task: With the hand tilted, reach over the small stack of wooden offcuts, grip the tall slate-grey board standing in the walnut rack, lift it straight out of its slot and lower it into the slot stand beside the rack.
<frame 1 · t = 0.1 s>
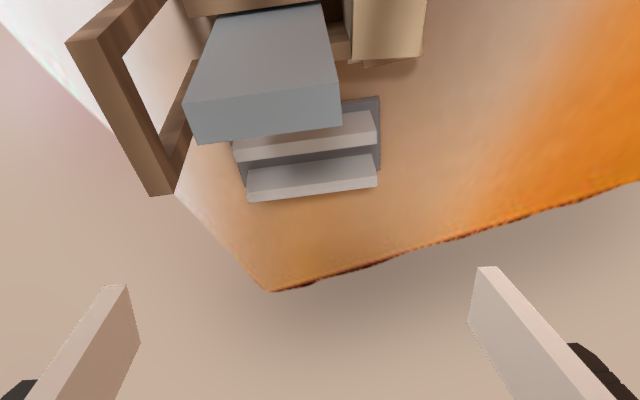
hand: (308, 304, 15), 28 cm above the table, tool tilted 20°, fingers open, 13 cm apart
slate board: (273, 10, 34), resting in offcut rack
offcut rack: (273, 10, 33), on the table
slot stand: (306, 142, 43), on the table
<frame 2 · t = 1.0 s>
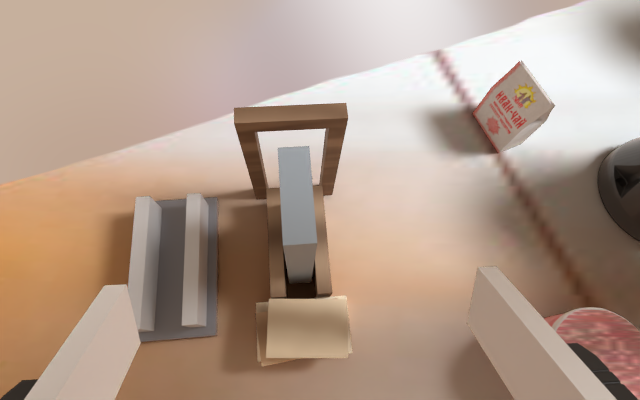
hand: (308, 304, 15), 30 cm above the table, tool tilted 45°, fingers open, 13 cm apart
slate board: (298, 249, 46), resting in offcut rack
container: (552, 362, 43), on the table
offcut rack: (298, 249, 46), on the table
tea bag: (495, 129, 54), on the table
slot stand: (178, 266, 45), on the table
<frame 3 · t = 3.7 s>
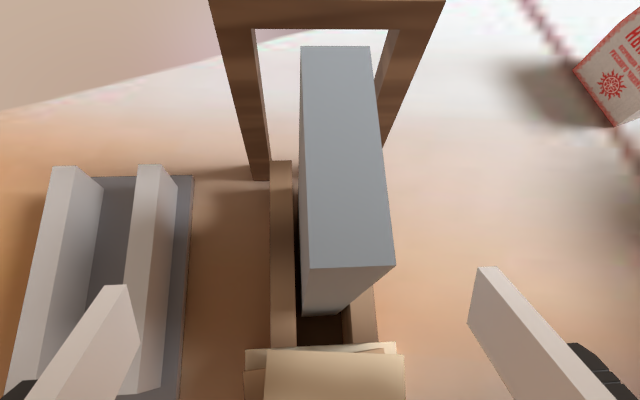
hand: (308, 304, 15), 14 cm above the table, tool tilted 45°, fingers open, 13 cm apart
slate board: (316, 261, 29), resting in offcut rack
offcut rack: (316, 261, 29), on the table
tea bag: (606, 94, 37), on the table
slot stand: (123, 281, 28), on the table
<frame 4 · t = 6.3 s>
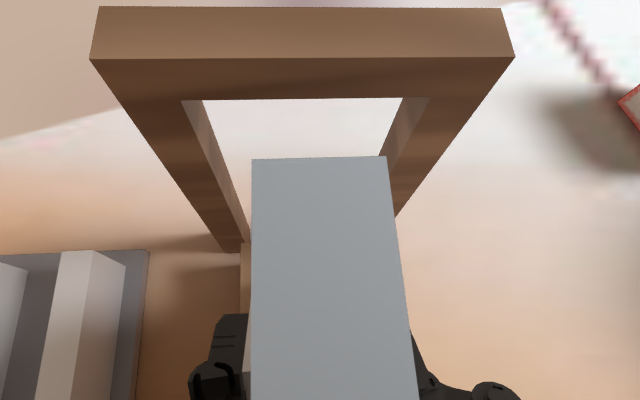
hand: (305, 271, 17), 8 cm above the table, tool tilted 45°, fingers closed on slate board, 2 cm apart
slate board: (305, 363, 22), resting in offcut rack, touching gripper
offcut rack: (305, 363, 22), on the table
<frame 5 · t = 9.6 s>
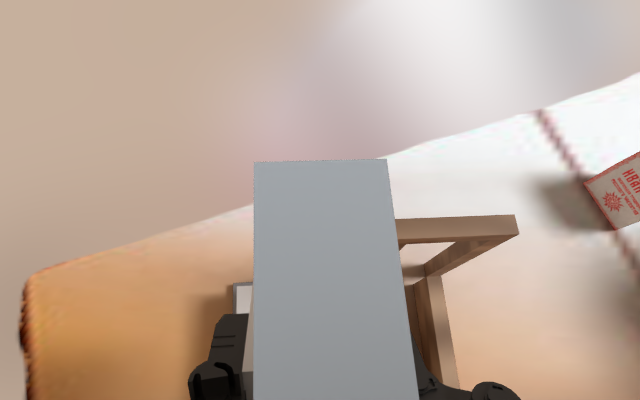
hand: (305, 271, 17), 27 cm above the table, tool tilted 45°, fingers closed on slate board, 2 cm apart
slate board: (305, 363, 23), point 19 cm above the table, touching gripper
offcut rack: (406, 341, 42), on the table
tea bag: (608, 202, 49), on the table
slot stand: (276, 359, 40), on the table
when the fingers open (10 cm above the table, at t = 12.8 s): slate board drops 1 cm, resting on slot stand.
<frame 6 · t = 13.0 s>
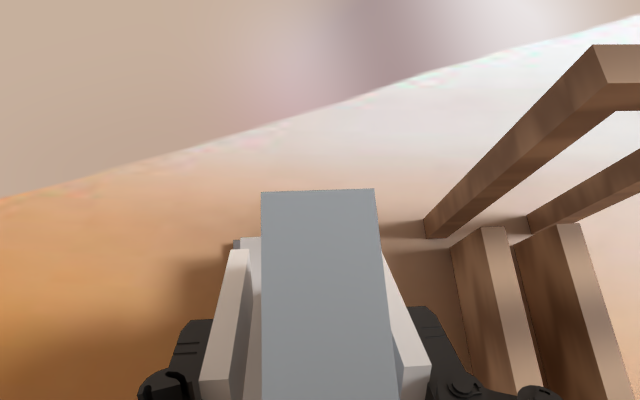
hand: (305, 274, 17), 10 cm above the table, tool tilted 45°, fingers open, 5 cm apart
slate board: (305, 363, 24), point 1 cm above the table, touching slot stand
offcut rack: (511, 332, 26), on the table
slot stand: (304, 362, 25), on the table
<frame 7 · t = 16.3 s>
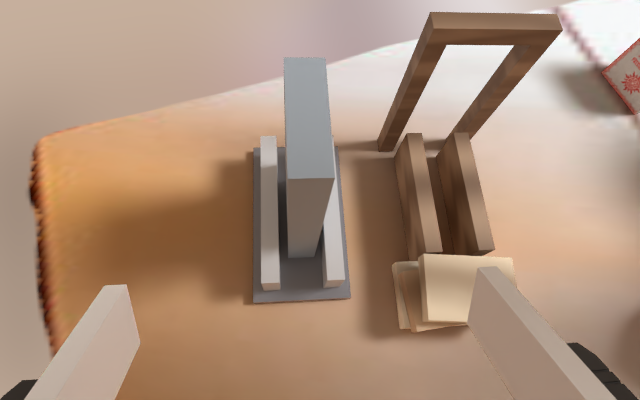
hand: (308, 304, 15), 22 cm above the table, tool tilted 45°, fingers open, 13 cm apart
slate board: (299, 218, 38), point 1 cm above the table, touching slot stand
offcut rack: (430, 207, 41), on the table
tea bag: (627, 90, 49), on the table
slot stand: (298, 220, 39), on the table
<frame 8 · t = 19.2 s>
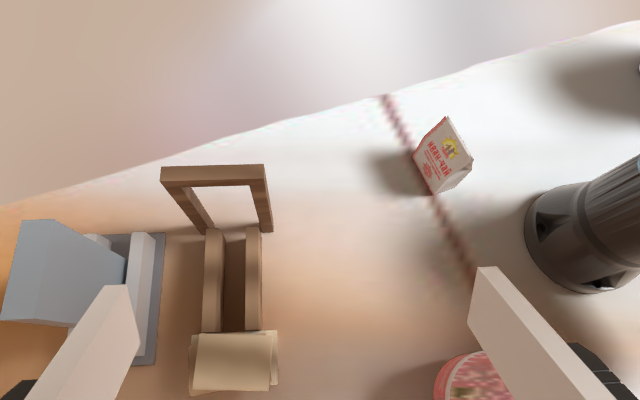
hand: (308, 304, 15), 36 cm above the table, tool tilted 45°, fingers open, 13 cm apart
slate board: (121, 296, 48), point 1 cm above the table, touching slot stand
container: (465, 396, 47), on the table
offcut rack: (237, 283, 50), on the table
tea bag: (432, 172, 58), on the table
slot stand: (123, 297, 48), on the table
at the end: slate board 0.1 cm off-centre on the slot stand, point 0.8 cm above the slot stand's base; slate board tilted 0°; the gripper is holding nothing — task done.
